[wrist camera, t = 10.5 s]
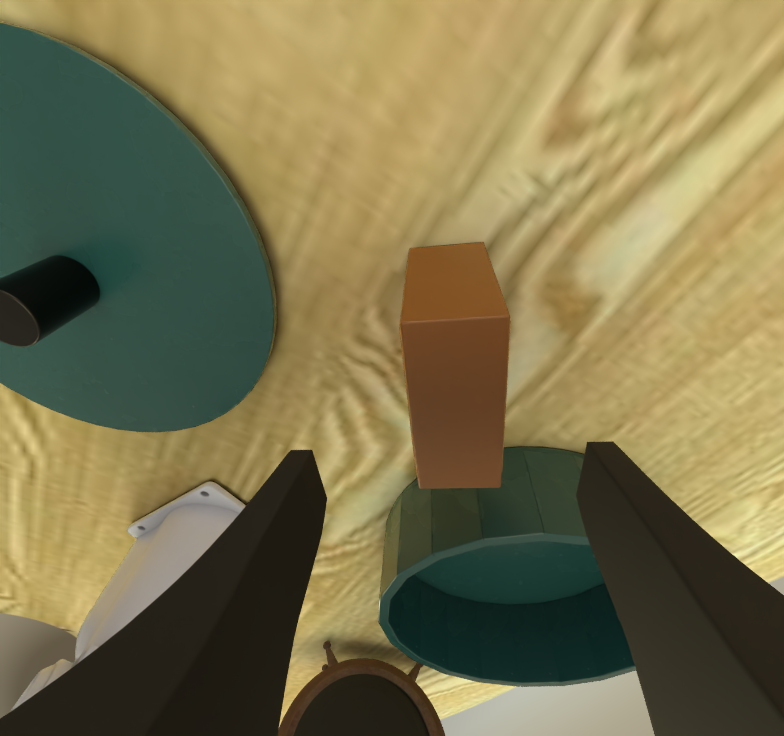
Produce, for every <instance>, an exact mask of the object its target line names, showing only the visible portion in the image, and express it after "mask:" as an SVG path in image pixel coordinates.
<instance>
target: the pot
mask: <svg viewBox="0 0 784 736" xmlns="http://www.w3.org/2000/svg"><path fill="white" fill-rule="evenodd" d="M583 460H584V454H580V453H576V452H571V451H566V450H562V449H553V448H544V447H512V448H503V466H502V476H501V487H499V488H435V489H420V488H419V486H418V479H416V480H415V481H414V482H413V483H412V484H410V485H409V486H408V487H407V488H406V489H405V490H404V491H403V492H402V494H401V495H400V496H399V497H398V498H397V500H396V502H395V503H394V505H393V507H392V509H391V511H390V514H389V517H388V519H387V524H386V534H385V545H384V555H383V566H382V576H381V587H380V597H379V614H378V622H379V624H380V626H381V627H382V629H383V631H384V632H385V634H386V636H387V638H388V639H389V641H390V642H391V644H393V645H394V646H395V647H397V648H398V649H399V650H401V651H402V652H403V653H405V654H406V655H407V656H409V657H410V658H411V659H412V660H414V661H416V662H419V663H421V664H423V665H426V666H428V667H430V668H433V669H435V670H437V671H439V672H442V673H444V674H448V675H452V676H456V677H460V678H464V679H468V680H472V681H476V682H481V683H491V684H500V685H510V686H521V687H523V686H524V687H527V686H565V685H573V684H580V683H587V682H593V681H601V680H604V679H608V678H611V677H615V676H618V675H621V674H625V673H628V672H632V671H635V670H636V667H635V664H634V661H633V657H632V654H631V650H630V647H629V644H628V641H627V639H626V636H625V633H624V630H623V627H622V625H621V622H620V620H619V617H618V614H617V612H616V609H615V607H614V604H613V602H612V599H611V597H610V594H609V592H608V589H607V587H606V584H605V581H604V579H603V576H602V574H601V571H600V569H599V566H598V564H597V561H596V559H595V556H594V553H593V551H592V548H591V546H590V543H589V540H588V538H587V535H586V532H585V528H584V524H583V521H582V517H581V513H580V509H579V505H578V501H577V497H576V493H577V489H578V484H579V479H580V474H581V470H582V465H583Z"/></svg>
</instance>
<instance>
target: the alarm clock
mask: <svg viewBox="0 0 784 736" xmlns="http://www.w3.org/2000/svg"><path fill="white" fill-rule="evenodd" d="M323 647H324V649H326V653H327V660H328V665H327V664H325V665H323V667H322V670H323V671H322V672H321V673H319V674H318V675H317V676H315V677H314V678H313V679H312V680H311V681H310V682H309V683H308V684H307V685H306V686H305V687H304V688H303V689H302V690H301V691H300V693H299V694H298V695H297V697H296V698H295V699H294V701H293V702H292V704H291V706H290V707H289V709H288V711H287V712H286V714H285V716H284V718H283V720H282V722H281V725H280V727H279V729H278V735H277V736H445V733H444V730H443V727H442V724H441V722H440V719H439V717H438V715H437V713H436V711H435V709H434V707H433V705H432V703H431V702H430V700H429V699H428V697H427V696H426V694H425V693H424V692H423V690H422V689H421V688H420V687H419V686H418V685H417V683H416V682H415V681H416V678H417V675H418V673H419V670H420V667H422V666H423V664H421V663H419V662H417V664H416V665H415V667H414V668H413V669H412V670H411V671H410V673H409V674H408V675H407V674H405V673H404V672H403V671H401V670H399V669H398V668H396V667H394V666H392V665H390V664H388V663H385V662H382V661H378V660H374V659H351V660H347V661H343V662H340V663H338V662H337V660H336V658H335V656H334V654H333V652H332V650H331V648H330V647H331V643H330V642H329V641H326V642H325V643H324V645H323Z"/></svg>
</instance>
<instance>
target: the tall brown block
mask: <svg viewBox="0 0 784 736" xmlns="http://www.w3.org/2000/svg"><path fill="white" fill-rule="evenodd" d="M510 323H511V322H510V315H509V312H508V309H507V306H506V304H505V301H504V298H503V295H502V293H501V290H500V287H499V284H498V281H497V279H496V276H495V273H494V270H493V268H492V265H491V262H490V259H489V257H488V254H487V251H486V248H485V246H484V243H483V242H479V243H467V244H456V245H444V246H433V247H421V248H410V249H409V255H408V261H407V269H406V278H405V286H404V294H403V302H402V311H401V319H400V327H399V330H400V339H401V348H402V356H403V365H404V374H405V383H406V391H407V400H408V409H409V417H410V426H411V435H412V444H413V452H414V461H415V470H416V474H417V477H418V486H419V488H420V489H435V488H499V487H501V476H502V466H503V448H504V430H505V413H506V395H507V377H508V359H509V341H510Z"/></svg>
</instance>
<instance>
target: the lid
mask: <svg viewBox="0 0 784 736" xmlns="http://www.w3.org/2000/svg"><path fill="white" fill-rule="evenodd" d="M276 319H277V307H276V295H275V286H274V281H273V277H272V272H271V268H270V263H269V260H268V257H267V254H266V251H265V248H264V246H263V243H262V240H261V237H260V234H259V232H258V230H257V228H256V226H255V224H254V222H253V220H252V218H251V216H250V214H249V211H248V209H247V207H246V205H245V204H244V202H243V200H242V199H241V197H240V196H239V194H238V192H237V191H236V189H235V188H234V186H233V184H232V183H231V181H230V180H229V178H228V176H227V175H226V174H225V172H224V171H223V170H222V169H221V167H220V166H219V165H218V163H217V162H216V161H215V159H214V158H213V157H212V156H211V154H210V153H209V152H208V150H207V149H206V148H205V147H204V145H203V144H202V143H201V142H200V141H199V140H198V139H197V138H196V137H195V136H194V135H193V134H192V133H191V132H190V131H189V130H188V128H187V127H186V126H185V125H184V124H183V123H182V122H181V121H180V120H179V119H178V118H177V117H176V116H175V115H174V114H173V113H171V112H170V111H169V110H168V109H167V108H166V107H164V106H163V105H162V104H161V103H160V102H159V101H158V100H156V99H155V98H154V97H153V96H152V95H151V94H149V93H148V92H147V91H146V90H145V89H143V88H142V87H140V86H139V85H138V84H136V83H135V82H133V81H132V80H130V79H129V78H128V77H126V76H125V75H123V74H122V73H120V72H119V71H118V70H116V69H115V68H113V67H112V66H110V65H108V64H107V63H105V62H103V61H101V60H99V59H98V58H96V57H94V56H92V55H90V54H89V53H87V52H85V51H83V50H81V49H79V48H78V47H76V46H74V45H71V44H69V43H66V42H64V41H61V40H59V39H56V38H54V37H52V36H49V35H47V34H44V33H42V32H39V31H36V30H32V29H28V28H25V27H21V26H17V25H13V24H9V23H5V22H2V21H0V383H2V384H3V385H5V386H6V387H8V388H10V389H11V390H13V391H15V392H17V393H19V394H21V395H22V396H24V397H26V398H28V399H30V400H32V401H34V402H36V403H38V404H40V405H43V406H45V407H47V408H49V409H51V410H53V411H56V412H59V413H61V414H64V415H67V416H69V417H72V418H75V419H78V420H81V421H85V422H88V423H92V424H95V425H99V426H104V427H109V428H114V429H118V430H127V431H136V432H166V431H177V430H182V429H187V428H192V427H196V426H199V425H201V424H204V423H207V422H210V421H212V420H214V419H216V418H218V417H220V416H222V415H223V414H225V413H227V412H228V411H230V410H231V409H232V408H234V407H235V406H236V405H238V404H239V403H240V402H241V401H242V400H243V399H244V398H245V397H246V396H247V395H248V394H249V392H250V391H251V390H252V389H253V387H254V386H255V384H256V383H257V381H258V380H259V378H260V376H261V375H262V373H263V371H264V369H265V367H266V365H267V362H268V360H269V357H270V355H271V352H272V347H273V343H274V339H275V334H276Z"/></svg>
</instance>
